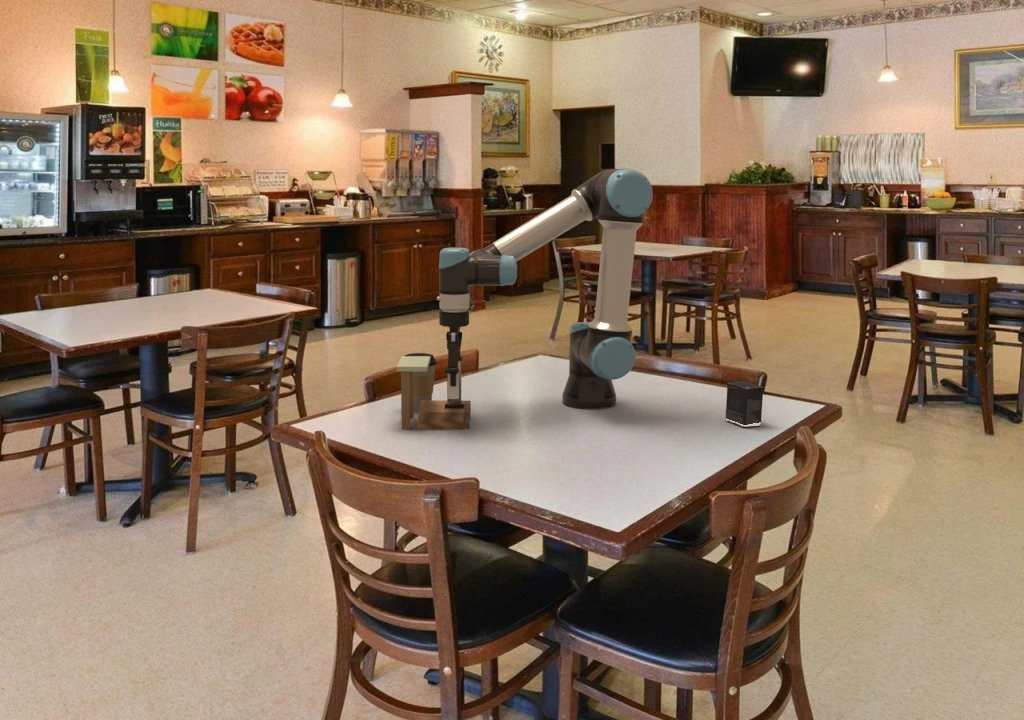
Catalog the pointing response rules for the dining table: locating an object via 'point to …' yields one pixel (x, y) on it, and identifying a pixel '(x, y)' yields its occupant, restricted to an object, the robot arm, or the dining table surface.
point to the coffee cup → (423, 382)
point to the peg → (454, 402)
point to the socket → (443, 415)
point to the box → (744, 402)
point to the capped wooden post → (409, 384)
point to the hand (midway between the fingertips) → (454, 392)
